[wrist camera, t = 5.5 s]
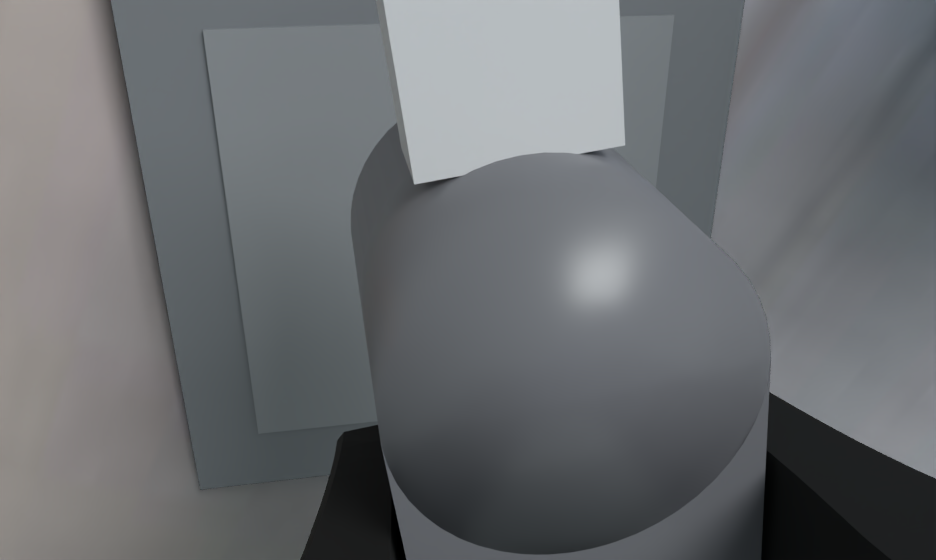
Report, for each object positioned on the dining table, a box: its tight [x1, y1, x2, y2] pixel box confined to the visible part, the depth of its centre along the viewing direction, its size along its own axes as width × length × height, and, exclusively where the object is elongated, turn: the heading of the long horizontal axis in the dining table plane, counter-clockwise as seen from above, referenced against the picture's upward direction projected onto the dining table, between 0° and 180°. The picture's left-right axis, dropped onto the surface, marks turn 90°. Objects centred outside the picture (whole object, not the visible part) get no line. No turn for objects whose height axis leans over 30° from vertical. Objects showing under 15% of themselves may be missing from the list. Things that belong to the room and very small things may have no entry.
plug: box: [351, 0, 771, 560], centre depth 11 cm, size 11×4×4 cm, turn 7°
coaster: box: [111, 0, 745, 490], centre depth 18 cm, size 12×12×1 cm
